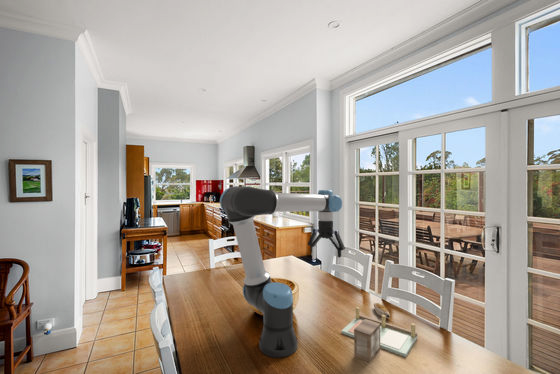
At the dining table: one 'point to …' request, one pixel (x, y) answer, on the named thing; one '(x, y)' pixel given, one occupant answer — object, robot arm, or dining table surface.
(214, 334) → the dining table surface
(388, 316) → the stone
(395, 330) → the ledge board
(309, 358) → the dining table surface
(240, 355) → the dining table surface
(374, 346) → the frame block
